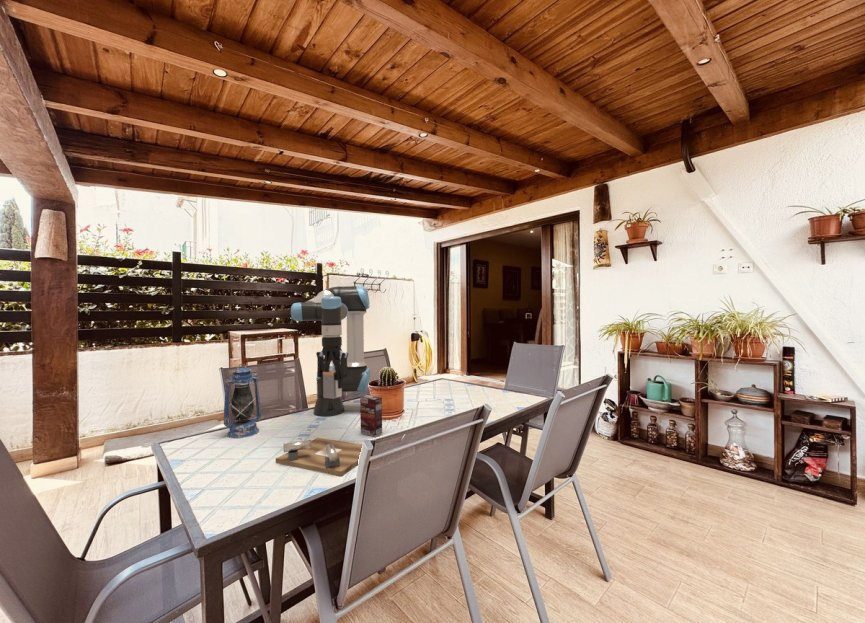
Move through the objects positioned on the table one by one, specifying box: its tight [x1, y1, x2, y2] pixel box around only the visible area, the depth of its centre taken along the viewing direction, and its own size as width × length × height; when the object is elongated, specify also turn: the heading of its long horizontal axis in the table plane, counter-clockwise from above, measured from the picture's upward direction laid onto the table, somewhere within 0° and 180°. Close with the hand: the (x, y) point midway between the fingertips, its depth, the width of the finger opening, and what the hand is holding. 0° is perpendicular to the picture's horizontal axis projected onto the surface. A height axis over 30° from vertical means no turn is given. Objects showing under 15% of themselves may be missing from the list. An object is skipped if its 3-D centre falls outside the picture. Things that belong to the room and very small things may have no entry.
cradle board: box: [275, 437, 363, 477], centre depth 136 cm, size 22×28×2 cm
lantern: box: [223, 363, 262, 439], centre depth 162 cm, size 15×12×30 cm
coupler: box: [323, 370, 342, 399], centre depth 145 cm, size 5×5×10 cm
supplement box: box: [359, 394, 383, 438], centre depth 159 cm, size 9×5×16 cm, turn 58°
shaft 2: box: [325, 443, 340, 469], centre depth 126 cm, size 9×4×5 cm, turn 22°
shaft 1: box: [283, 439, 312, 461], centre depth 132 cm, size 9×4×5 cm, turn 112°
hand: (332, 396), depth 145 cm, fingers closed on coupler, 5 cm apart
